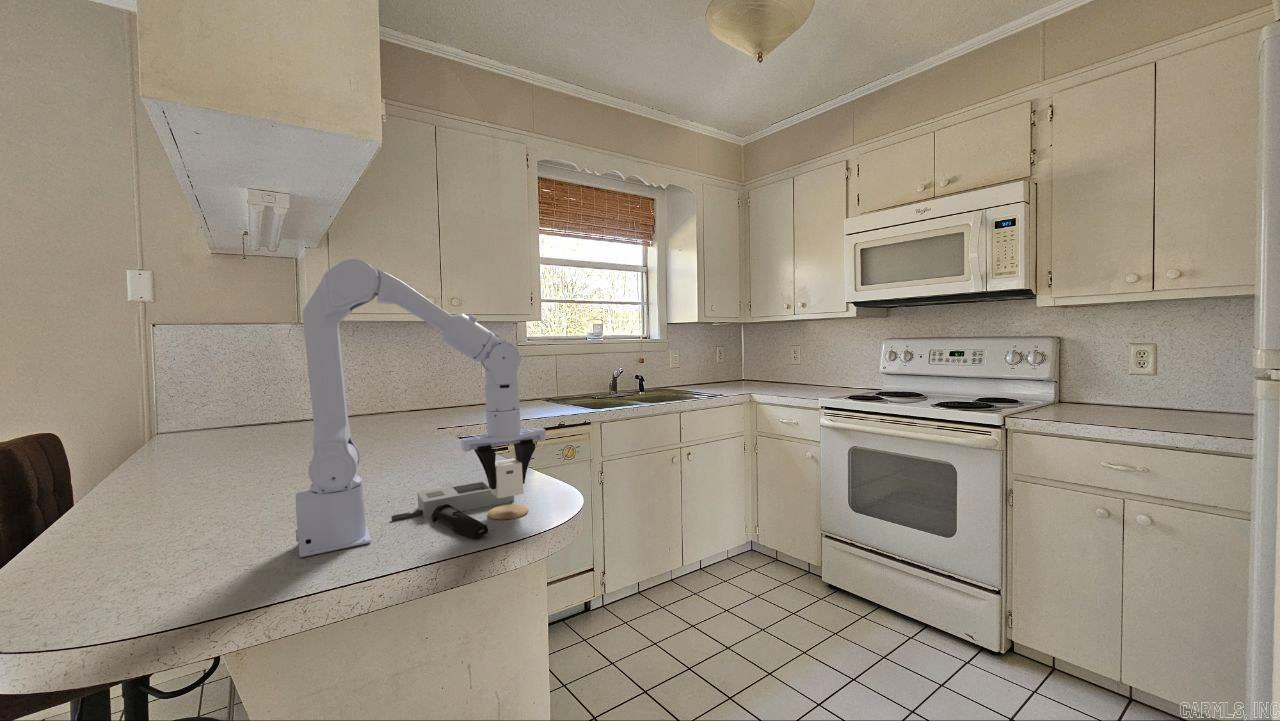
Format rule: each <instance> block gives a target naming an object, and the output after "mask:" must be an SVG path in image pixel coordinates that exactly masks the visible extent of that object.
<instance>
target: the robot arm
mask: <svg viewBox="0 0 1280 721" xmlns="http://www.w3.org/2000/svg"><path fill="white" fill-rule="evenodd" d="M314 290H315V291H314V292H313V293H312V295H311V296H310V298H309V300H308V302H306V305H305V306H304V308H303V310H302V324H303V332H304V343H305V352H306V353H305V354H306V360H307V362H306V363H307V371H308V381H309V390H310V391H309V392H310V399H311V401H310V402H311V409H312V410H311V412H312V419H313V425H314V426H313V440H312V447H313V448H312V449H313V456H312V458H311V461H310V463H309V465H308V472H307V473H308V477H309V479H310V482H311V484H310V486H309V488H310V489H308V490H305V491H300V492H299V491H298V492H296V493H295V514H296V527H297V528H296V529H295V541H296V543H298V551H299V552H298V555H299V556H298V557H300V558H303V557H308V556H313V555H317V554H318V555H319V554H323V553H328V552H333V551H337V550H343V549H348V548H352V547H357V546H361V545H365V544H370V543H371V542H372V538H371V535H370V532H369V528H368V525H366V513H365V512H366V510H365V509H366V508H365V496H364V480H363V478H362V477H361V476H359V475H358V474H357V467H358V465H359V463H360V460H361V459H360V458H361V455H360V451H359V448H358V447H357V446H356V444H355V443H354V442H353V438H352V432H351V427H350V426H351V425H350V422H349V415H348V405H347V404H348V403H347V395H346V383H345V376H344V375H345V374H344V365H343V356H342V344H341V334H340V326H339V325H340V323H341V322H342V321H343V320H345V319H346V318H347V317H348V316H349V315H350V314H351V313H352V312H353V310H355V309H357V308H359V307H361V306H363V305H365V304H367V303H369V302H371V301H373V300H374V299H375V298H376V302H377V303H378V304H386V305H396V306H399V307H400V308H401V309H404V310H405V311H407V312H408V313H410V314H412V315H414V316H416V317H417V318H419V319H420V320H422V321H424V322H426V323H427V324H429V325H431V326H432V327H434V328H436V329H437V330H439V332H440V333H441V338H442V341H443V343H445V344H446V345H448V346H449V347H452V348H453V349H455V350H456V351H457V352H459V353H461V354H463V355H464V356H466V357H468V358H469V359H470V360H472V361H474V362H479V361H480V364H481V366H482V367H483V369H485V370H484V372H485V373H484V375H485V383H484V394H485V410H486V411H485V414H486V416H485V417H486V431H487V433H486V434H485V433H484V434H479V435H475V436H470V437H464V438H460V445H461V446H460V447H461V450H462V451H463V452H470V451H472V450H473V451H474V453H475V454H476V456H477V457H478V459H479V461H480V464H481V465H482V468H483V470H484V472H485V475H486V479H487V480H488V483H489V487H490V488H491V489H492V490H493V489H496V475H495V461H496V456H497V453H496V452H495V451H494V449H493V448H492V447H500V446H507V445H513V447H514V453H515V459H516V460H518V461H520V462H521V463H522V475H523V485H524V484H525V482H526V477H527V471H528V468H529V464H530V462H531V458H532V456H533V454H534V452H535V450H536V443H534V441H546V439H547V436H546V429H545V428H543V427H540V428H527V429H521V428H522V427H521V410H520V409H521V407H520V392H519V388H520V386H519V381H518V369H519V367H520V365H521V362H522V357H521V356H520V353H519V351H518V349H517V347H516V346H515V345H514V344H513V343H511V342H508V341H507V340H505V341H504V340H503V339H500V338H501V334H500V333H499V332H497V331H494V333H493V332H492V331H490V330H489V329H488V328H486V327H485V326H483V325H481V324H480V323H478V322H477V320H478V318H477V317H476V316H475V315H473V314H469V316H468V315H466V314H464V313H458V314H450V313H449V312H447V311H446V310H444V309H443V308H441V307H440V306H439V305H436V303H434V302H432V301H431V300H430V299H428V298H427V297H425V296H424V295H422V294H421V293H419V292H418V291H416V290H415V289H414V288H412V287H411V286H409V285H408V284H407V283H405V282H403V281H402V280H400V279H398V278H396V277H394V276H393V275H392V274H389V273H387V272H385V271H383V270H381V269H380V268H376V270H375V269H374V267H373V266H371V264H369V263H367V262H366V261H364V260H361V259H357V258H349V259H344V260H342V261H340V262H338V263H337V264H336V265H334V266H333V267H331V268H330V269H329V270H327V271H325V273H324V274H323V276H322V278H321V280H320V282H319V284H318V286H317V287H316V289H314Z"/></svg>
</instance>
